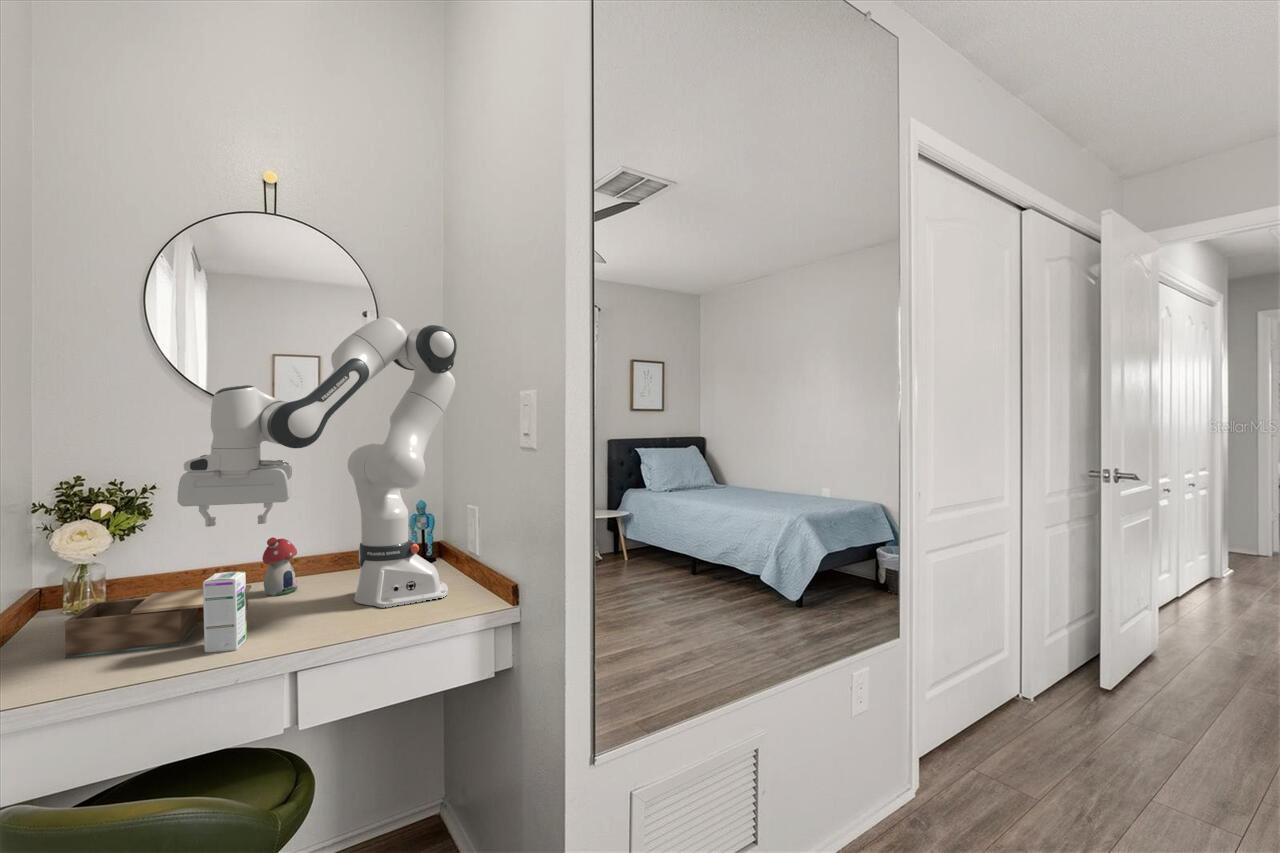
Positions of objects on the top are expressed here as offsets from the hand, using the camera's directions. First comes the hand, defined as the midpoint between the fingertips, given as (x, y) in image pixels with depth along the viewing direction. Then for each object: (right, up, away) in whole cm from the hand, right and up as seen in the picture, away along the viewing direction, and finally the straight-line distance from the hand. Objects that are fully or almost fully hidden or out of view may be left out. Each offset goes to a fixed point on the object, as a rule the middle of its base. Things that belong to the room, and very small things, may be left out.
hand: (236, 524), depth 129 cm
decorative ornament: (-6, -22, +26) cm, 35 cm away
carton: (-14, -23, +9) cm, 28 cm away
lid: (-7, -16, -2) cm, 17 cm away
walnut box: (-16, -23, -6) cm, 29 cm away
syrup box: (+4, -23, -8) cm, 25 cm away
